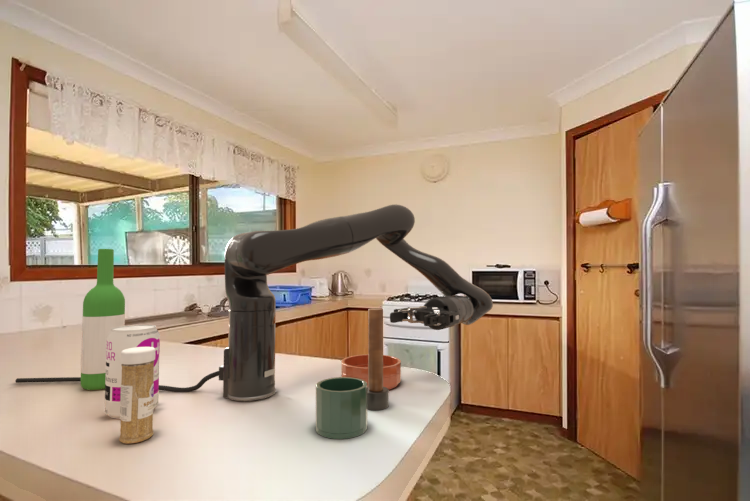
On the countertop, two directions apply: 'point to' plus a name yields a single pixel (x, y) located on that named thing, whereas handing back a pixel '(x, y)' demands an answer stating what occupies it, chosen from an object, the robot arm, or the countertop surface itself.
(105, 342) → the wine bottle
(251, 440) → the countertop surface
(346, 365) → the bowl
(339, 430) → the pot
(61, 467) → the countertop surface
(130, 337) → the supplement can
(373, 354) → the brush
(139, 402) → the sprinkles bottle
